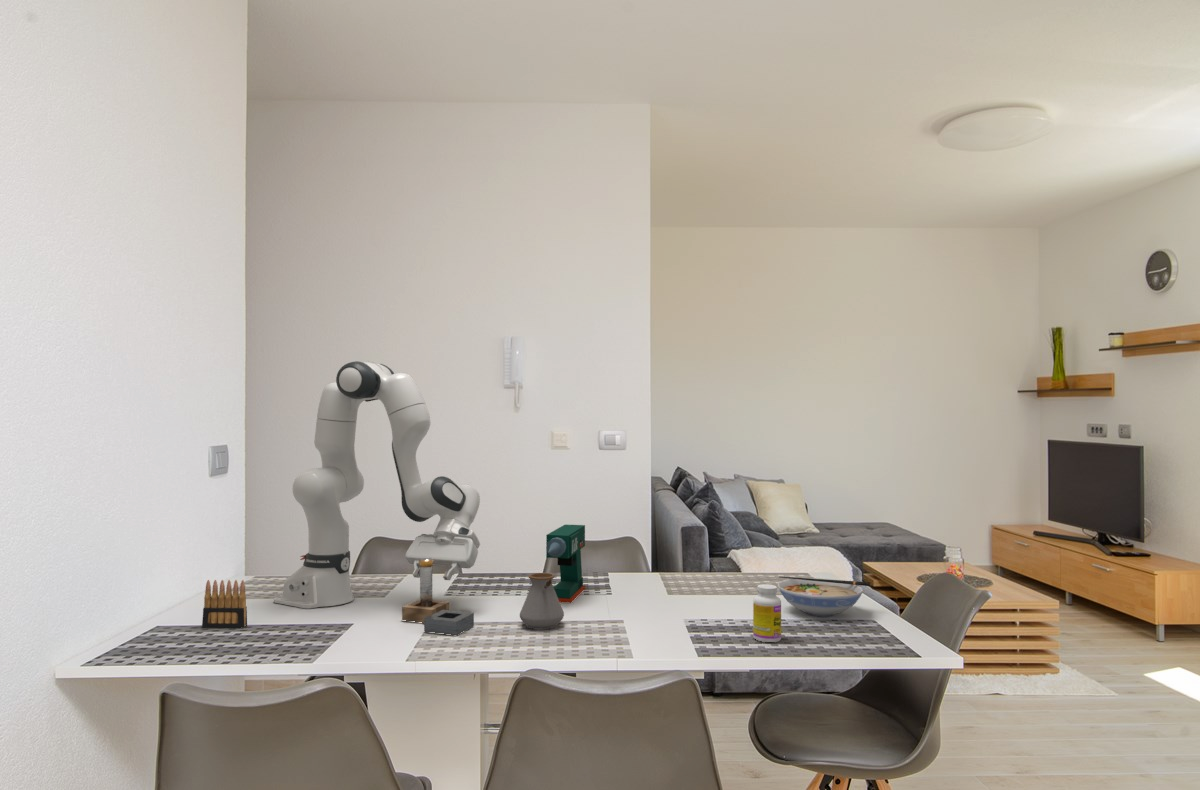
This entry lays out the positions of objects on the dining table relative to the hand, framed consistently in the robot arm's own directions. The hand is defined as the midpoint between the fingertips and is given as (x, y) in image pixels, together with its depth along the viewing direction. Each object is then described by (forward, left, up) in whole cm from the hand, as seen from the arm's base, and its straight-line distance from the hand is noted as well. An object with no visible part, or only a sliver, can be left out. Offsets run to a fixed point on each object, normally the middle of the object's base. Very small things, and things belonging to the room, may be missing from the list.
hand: (430, 577), depth 203 cm
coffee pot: (+34, -2, -11) cm, 36 cm away
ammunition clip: (-44, -26, -11) cm, 52 cm away
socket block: (+11, -9, -10) cm, 18 cm away
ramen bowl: (+99, +39, -11) cm, 107 cm away
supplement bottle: (+88, +9, -11) cm, 89 cm away
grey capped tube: (0, -2, -10) cm, 10 cm away
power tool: (+27, +29, -11) cm, 41 cm away
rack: (0, -2, -10) cm, 11 cm away
